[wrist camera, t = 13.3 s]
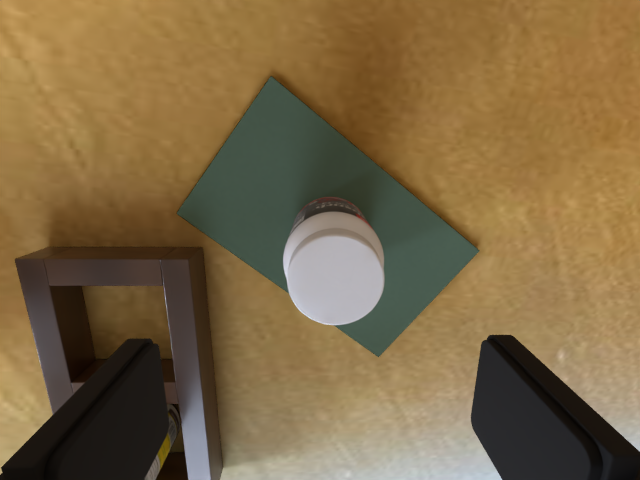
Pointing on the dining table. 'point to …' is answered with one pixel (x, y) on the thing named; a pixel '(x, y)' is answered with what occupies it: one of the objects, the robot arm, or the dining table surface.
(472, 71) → the dining table surface
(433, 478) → the dining table surface
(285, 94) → the mat
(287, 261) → the pill bottle
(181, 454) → the rack
